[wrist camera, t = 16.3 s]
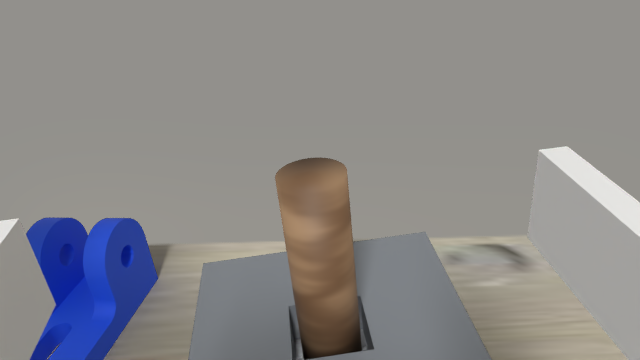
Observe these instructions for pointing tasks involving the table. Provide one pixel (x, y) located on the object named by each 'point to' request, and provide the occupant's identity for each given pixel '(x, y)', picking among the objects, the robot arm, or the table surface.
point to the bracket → (90, 283)
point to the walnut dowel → (320, 255)
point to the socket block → (373, 303)
